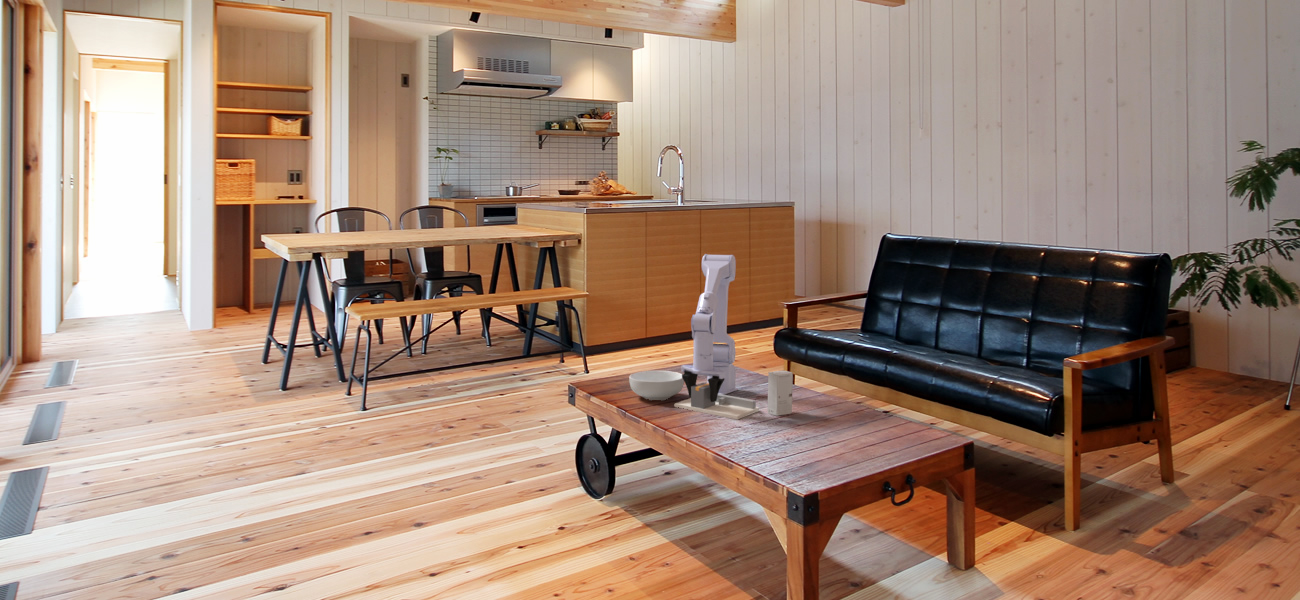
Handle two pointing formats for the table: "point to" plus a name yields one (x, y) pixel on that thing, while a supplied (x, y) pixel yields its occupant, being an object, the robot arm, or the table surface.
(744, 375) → the table surface
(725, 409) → the rail base
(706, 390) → the block
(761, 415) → the table surface
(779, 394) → the skincare box
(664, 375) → the cereal bowl
